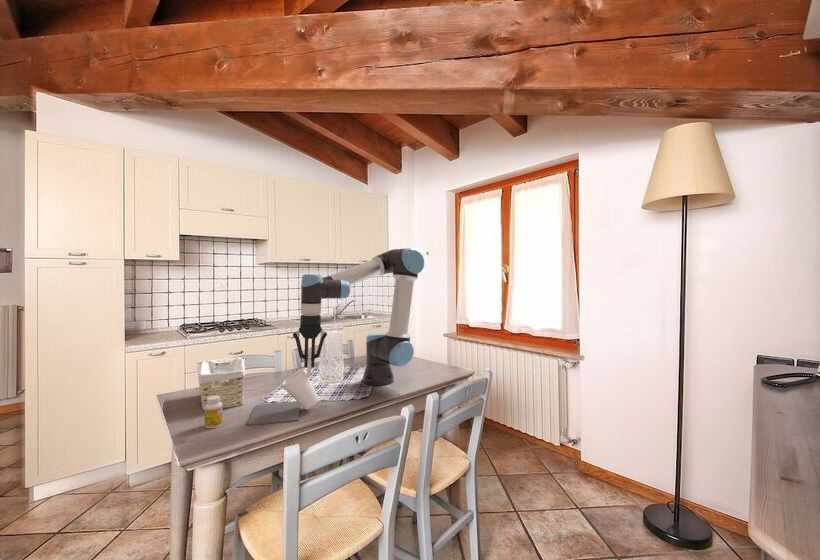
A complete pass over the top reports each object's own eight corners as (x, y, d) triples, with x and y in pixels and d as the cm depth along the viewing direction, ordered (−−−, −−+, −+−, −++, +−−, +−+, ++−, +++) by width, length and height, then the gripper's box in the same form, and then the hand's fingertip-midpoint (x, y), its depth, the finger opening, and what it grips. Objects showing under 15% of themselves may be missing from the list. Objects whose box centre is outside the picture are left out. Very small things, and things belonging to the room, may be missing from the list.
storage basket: (245, 406, 140) (245, 369, 140) (198, 413, 133) (197, 374, 133) (243, 388, 162) (242, 356, 161) (201, 394, 154) (201, 360, 154)
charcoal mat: (300, 402, 144) (300, 401, 144) (298, 420, 127) (298, 419, 127) (255, 406, 140) (255, 404, 140) (246, 425, 123) (246, 424, 123)
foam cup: (297, 414, 136) (276, 388, 134) (312, 398, 144) (292, 373, 142) (312, 409, 131) (291, 381, 129) (326, 392, 139) (307, 366, 137)
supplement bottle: (201, 428, 121) (200, 399, 120) (212, 421, 126) (212, 394, 126) (215, 429, 120) (214, 400, 119) (226, 422, 125) (225, 395, 125)
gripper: (327, 313, 142) (326, 372, 142) (293, 313, 139) (292, 373, 139) (328, 315, 134) (326, 377, 134) (292, 315, 131) (290, 379, 131)
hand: (309, 375), depth 137 cm, fingers closed
